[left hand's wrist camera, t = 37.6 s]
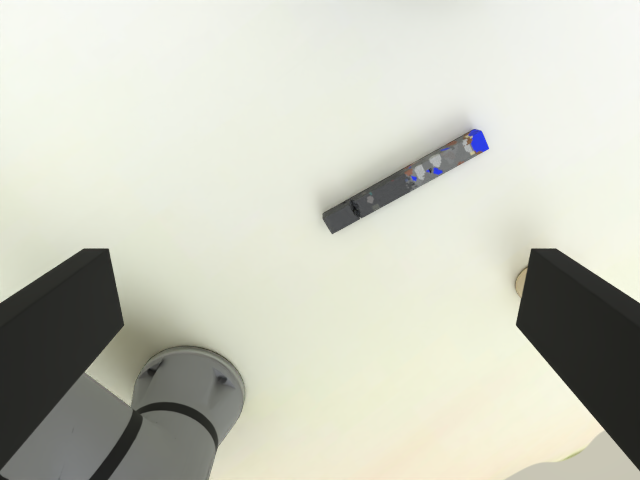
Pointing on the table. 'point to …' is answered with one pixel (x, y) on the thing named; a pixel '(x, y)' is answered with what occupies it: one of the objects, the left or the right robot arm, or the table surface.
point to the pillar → (406, 180)
